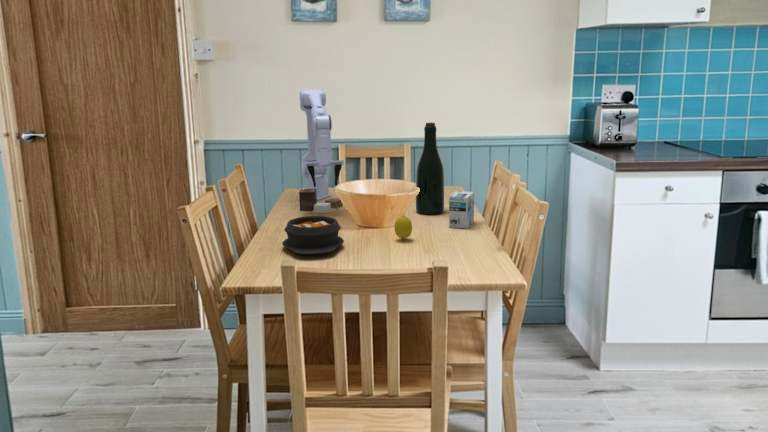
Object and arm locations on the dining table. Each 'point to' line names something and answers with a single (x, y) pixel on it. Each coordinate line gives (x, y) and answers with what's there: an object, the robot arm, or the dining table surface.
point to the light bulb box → (461, 209)
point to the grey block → (322, 207)
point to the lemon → (403, 227)
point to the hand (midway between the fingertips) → (325, 186)
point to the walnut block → (334, 203)
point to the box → (307, 199)
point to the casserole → (312, 235)
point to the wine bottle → (430, 176)
